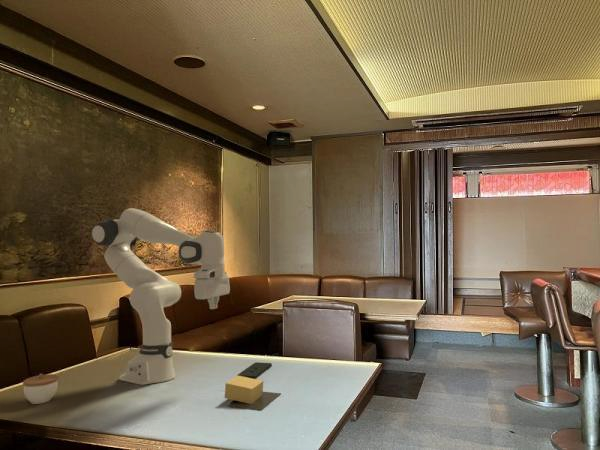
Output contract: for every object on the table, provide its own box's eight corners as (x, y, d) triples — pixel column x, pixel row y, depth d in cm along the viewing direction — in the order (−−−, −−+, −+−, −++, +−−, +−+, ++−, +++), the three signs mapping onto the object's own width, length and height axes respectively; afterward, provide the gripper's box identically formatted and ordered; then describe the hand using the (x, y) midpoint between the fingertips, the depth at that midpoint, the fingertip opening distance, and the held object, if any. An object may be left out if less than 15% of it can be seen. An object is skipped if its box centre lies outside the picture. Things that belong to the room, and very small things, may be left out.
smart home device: (236, 374, 176) (255, 361, 196) (236, 379, 176) (255, 365, 195) (255, 376, 174) (272, 362, 193) (255, 380, 174) (272, 366, 193)
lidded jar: (21, 408, 147) (21, 380, 148) (24, 399, 157) (24, 372, 157) (57, 402, 152) (57, 375, 153) (58, 393, 162) (58, 368, 162)
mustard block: (225, 383, 149) (252, 388, 146) (238, 375, 157) (263, 380, 154) (224, 397, 149) (251, 404, 146) (237, 389, 157) (262, 395, 154)
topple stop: (225, 406, 145) (225, 403, 145) (247, 390, 160) (247, 388, 160) (261, 410, 140) (261, 407, 140) (280, 394, 155) (280, 391, 155)
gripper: (219, 270, 180) (220, 304, 179) (190, 274, 161) (191, 312, 160) (233, 270, 178) (234, 305, 177) (205, 274, 159) (206, 312, 158)
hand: (213, 308), depth 168 cm, fingers closed
